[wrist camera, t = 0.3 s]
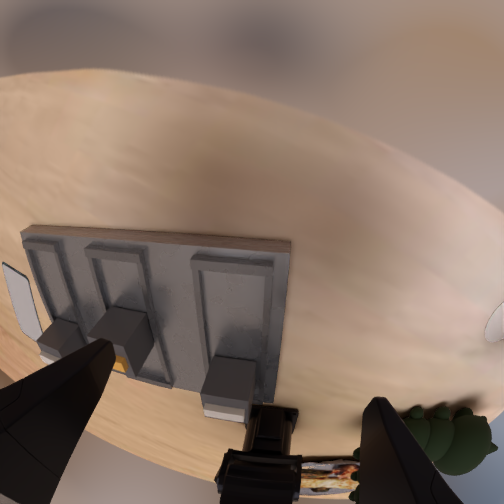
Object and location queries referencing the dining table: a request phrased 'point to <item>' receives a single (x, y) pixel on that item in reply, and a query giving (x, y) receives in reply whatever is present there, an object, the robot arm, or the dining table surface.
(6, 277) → the smartphone
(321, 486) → the food plate
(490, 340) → the champagne flute
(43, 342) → the breaker
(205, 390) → the block
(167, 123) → the dining table surface
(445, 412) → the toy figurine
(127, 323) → the breaker mid
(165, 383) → the panel
